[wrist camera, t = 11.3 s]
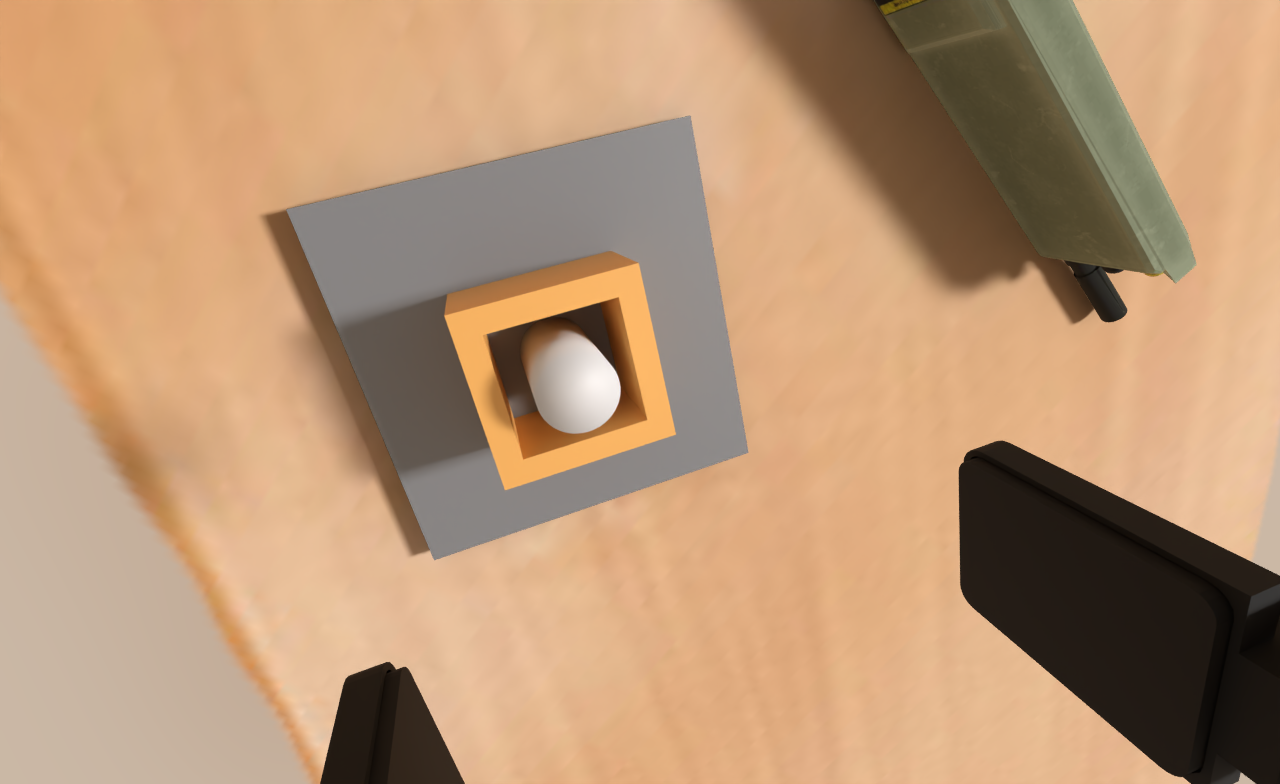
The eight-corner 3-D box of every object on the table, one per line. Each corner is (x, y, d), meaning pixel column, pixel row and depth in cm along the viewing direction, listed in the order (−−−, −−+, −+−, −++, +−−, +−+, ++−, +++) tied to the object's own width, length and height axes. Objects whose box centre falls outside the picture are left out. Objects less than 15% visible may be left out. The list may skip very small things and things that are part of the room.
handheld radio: (884, -101, 26) (1115, 287, 36) (830, -39, 26) (1073, 329, 36) (1009, -184, 20) (1245, 312, 30) (936, -100, 20) (1193, 362, 30)
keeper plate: (293, 208, 23) (229, 217, 17) (682, 117, 26) (753, 96, 20) (435, 548, 29) (427, 650, 23) (740, 445, 32) (809, 509, 26)
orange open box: (447, 294, 25) (444, 315, 21) (610, 250, 26) (638, 262, 22) (498, 444, 27) (505, 490, 23) (645, 398, 29) (675, 434, 24)
